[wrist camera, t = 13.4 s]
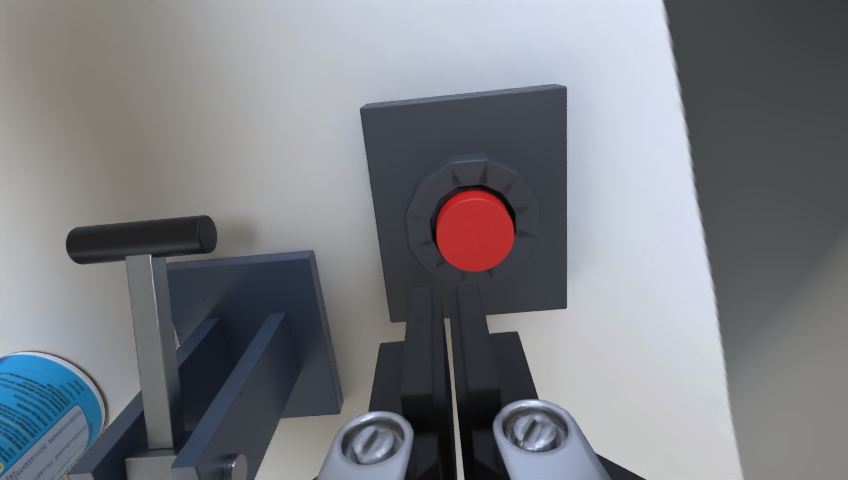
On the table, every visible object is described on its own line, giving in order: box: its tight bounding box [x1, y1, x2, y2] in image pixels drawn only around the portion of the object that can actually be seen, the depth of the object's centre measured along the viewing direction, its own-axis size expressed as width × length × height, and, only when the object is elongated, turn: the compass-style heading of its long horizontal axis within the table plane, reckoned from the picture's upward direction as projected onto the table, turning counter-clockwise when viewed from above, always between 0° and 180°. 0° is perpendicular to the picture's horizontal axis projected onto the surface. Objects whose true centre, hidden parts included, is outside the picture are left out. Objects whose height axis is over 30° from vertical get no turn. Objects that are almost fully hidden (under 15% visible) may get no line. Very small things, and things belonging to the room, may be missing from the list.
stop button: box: [436, 189, 514, 271], centre depth 23 cm, size 4×4×2 cm
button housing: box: [360, 84, 567, 323], centre depth 26 cm, size 12×10×4 cm
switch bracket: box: [67, 250, 343, 480], centre depth 25 cm, size 11×9×13 cm
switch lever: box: [66, 215, 217, 480], centre depth 20 cm, size 12×6×2 cm, turn 7°
